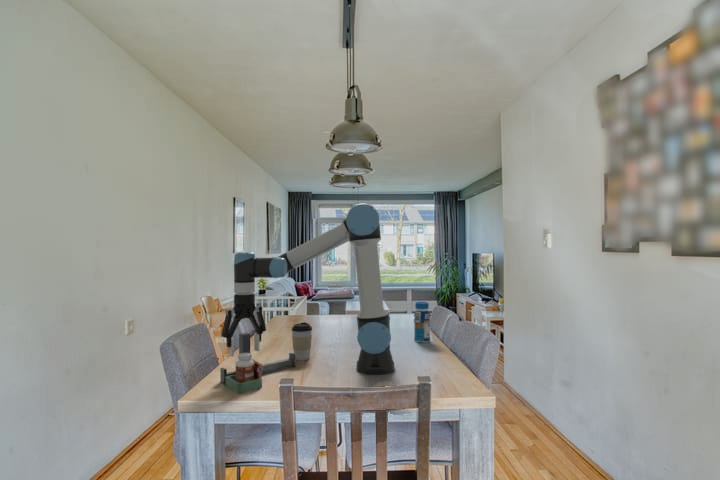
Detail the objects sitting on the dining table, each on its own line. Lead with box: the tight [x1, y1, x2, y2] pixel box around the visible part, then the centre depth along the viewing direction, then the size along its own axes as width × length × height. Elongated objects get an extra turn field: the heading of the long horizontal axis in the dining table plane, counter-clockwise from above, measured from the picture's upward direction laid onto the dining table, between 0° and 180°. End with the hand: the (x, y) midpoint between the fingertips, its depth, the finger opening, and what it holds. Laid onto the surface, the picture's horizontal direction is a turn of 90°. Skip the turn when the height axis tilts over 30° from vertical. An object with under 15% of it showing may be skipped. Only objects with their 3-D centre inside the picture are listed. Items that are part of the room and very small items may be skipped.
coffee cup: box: [291, 322, 313, 361], centre depth 171 cm, size 9×9×15 cm
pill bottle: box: [235, 352, 255, 383], centre depth 137 cm, size 6×6×11 cm
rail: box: [219, 352, 296, 385], centre depth 150 cm, size 3×30×5 cm, turn 132°
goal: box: [224, 374, 263, 395], centre depth 136 cm, size 11×8×3 cm
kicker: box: [235, 332, 263, 380], centre depth 142 cm, size 14×6×16 cm, turn 42°
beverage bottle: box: [413, 301, 431, 344], centre depth 201 cm, size 8×8×20 cm
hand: (244, 353), depth 146 cm, fingers open, 9 cm apart
